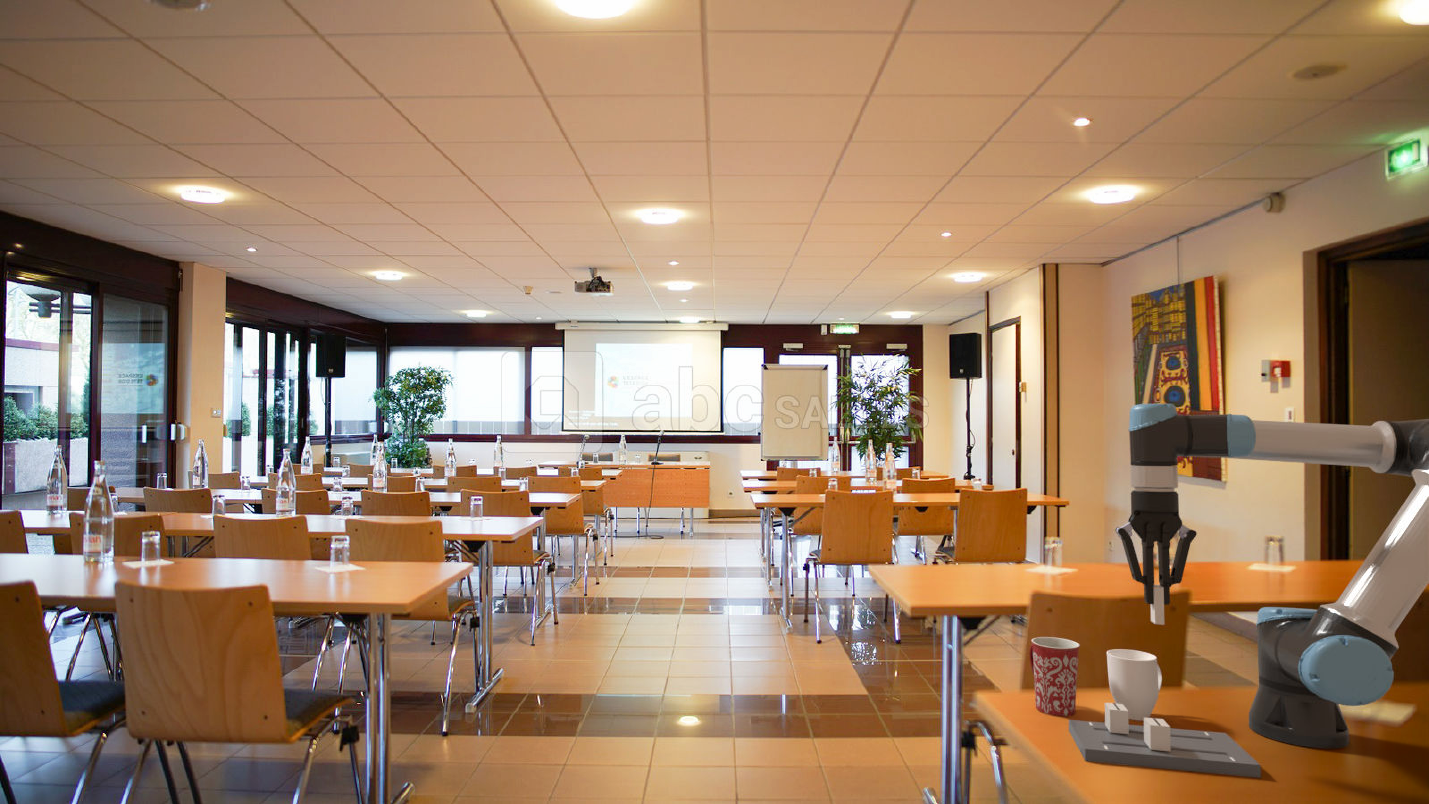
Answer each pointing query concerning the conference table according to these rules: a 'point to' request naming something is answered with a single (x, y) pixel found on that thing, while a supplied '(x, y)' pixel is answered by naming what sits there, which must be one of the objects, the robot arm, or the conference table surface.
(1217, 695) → the conference table surface
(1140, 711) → the mug
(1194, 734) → the console
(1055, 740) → the conference table surface
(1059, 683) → the mug
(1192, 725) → the conference table surface
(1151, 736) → the fader
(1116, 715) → the block
